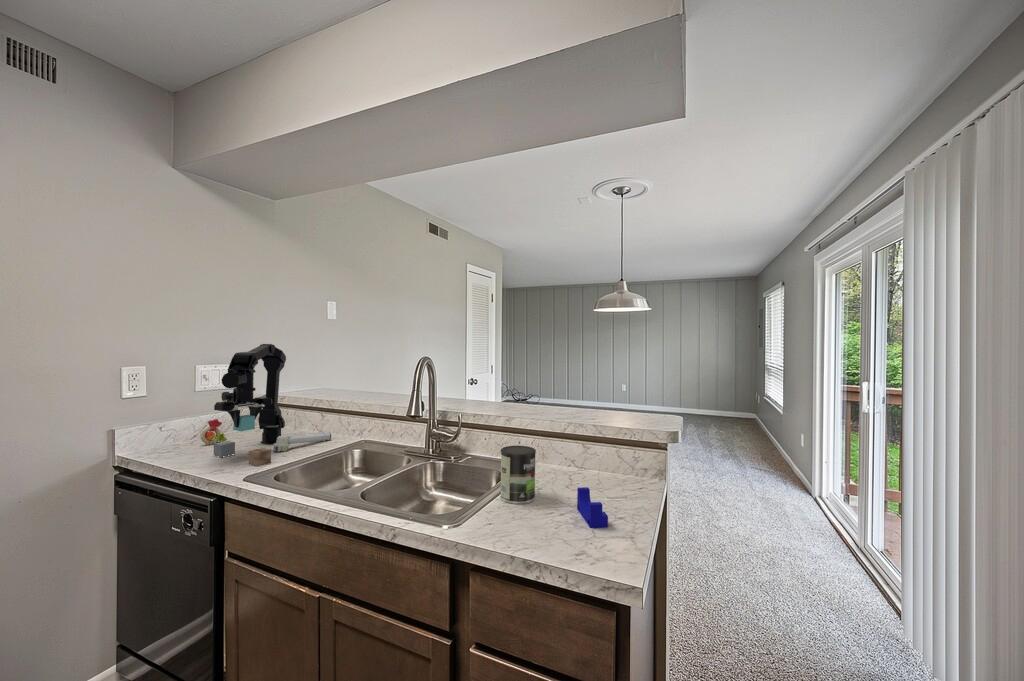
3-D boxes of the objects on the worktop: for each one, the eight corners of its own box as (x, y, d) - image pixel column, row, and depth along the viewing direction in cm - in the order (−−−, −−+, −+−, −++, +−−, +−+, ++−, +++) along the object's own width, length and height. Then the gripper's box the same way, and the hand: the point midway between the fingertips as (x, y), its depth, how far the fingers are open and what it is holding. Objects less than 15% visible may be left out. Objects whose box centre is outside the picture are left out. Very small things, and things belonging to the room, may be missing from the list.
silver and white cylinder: (333, 432, 188) (279, 435, 166) (331, 447, 187) (277, 452, 166) (325, 430, 191) (272, 433, 169) (323, 445, 190) (269, 450, 168)
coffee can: (541, 495, 124) (542, 448, 124) (523, 507, 115) (524, 456, 115) (512, 488, 130) (512, 443, 130) (493, 499, 121) (493, 450, 121)
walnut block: (262, 461, 156) (262, 447, 156) (270, 463, 153) (271, 449, 153) (248, 464, 151) (249, 450, 151) (257, 466, 149) (257, 452, 149)
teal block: (246, 427, 163) (246, 414, 163) (254, 428, 161) (254, 415, 161) (233, 429, 159) (233, 416, 159) (241, 431, 156) (241, 418, 156)
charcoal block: (227, 453, 165) (227, 440, 165) (234, 455, 163) (235, 442, 163) (213, 456, 161) (213, 443, 161) (221, 458, 159) (221, 445, 159)
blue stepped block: (607, 528, 104) (608, 504, 104) (590, 529, 103) (590, 504, 103) (593, 508, 115) (593, 487, 115) (577, 509, 115) (577, 487, 115)
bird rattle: (211, 451, 175) (233, 438, 183) (200, 429, 171) (222, 417, 179) (204, 449, 178) (225, 437, 186) (192, 427, 174) (214, 415, 182)
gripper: (255, 382, 172) (255, 420, 172) (205, 386, 155) (205, 428, 155) (273, 383, 167) (272, 422, 167) (223, 388, 150) (222, 431, 150)
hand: (244, 426), depth 160 cm, fingers closed on teal block, 5 cm apart
